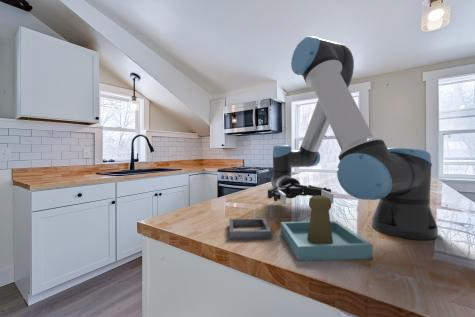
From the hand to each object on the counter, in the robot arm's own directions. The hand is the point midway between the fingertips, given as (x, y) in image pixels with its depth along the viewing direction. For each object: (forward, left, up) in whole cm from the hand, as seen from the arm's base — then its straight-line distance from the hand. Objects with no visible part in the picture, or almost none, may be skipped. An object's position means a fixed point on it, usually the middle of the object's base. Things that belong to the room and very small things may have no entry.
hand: (308, 199), depth 63 cm
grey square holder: (+16, +5, -9) cm, 19 cm away
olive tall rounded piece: (-3, +7, -9) cm, 12 cm away
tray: (-3, +8, -9) cm, 12 cm away
